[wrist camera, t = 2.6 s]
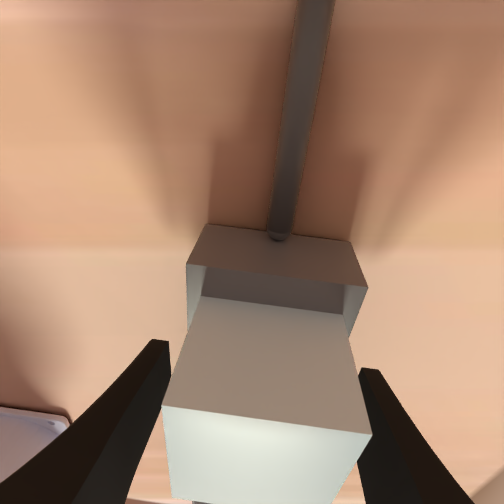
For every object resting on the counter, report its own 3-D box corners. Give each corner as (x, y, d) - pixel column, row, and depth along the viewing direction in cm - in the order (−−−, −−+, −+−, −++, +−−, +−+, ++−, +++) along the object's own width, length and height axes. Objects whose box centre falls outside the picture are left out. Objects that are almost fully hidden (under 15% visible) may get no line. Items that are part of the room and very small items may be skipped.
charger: (209, 352, 15) (172, 497, 10) (212, 264, 12) (161, 405, 7) (307, 365, 15) (321, 519, 10) (334, 280, 12) (372, 435, 7)
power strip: (202, 467, 24) (175, 600, 18) (210, -93, 8) (-67, -729, 2) (276, 478, 24) (273, 615, 18) (447, -69, 7) (1157, -664, 1)
